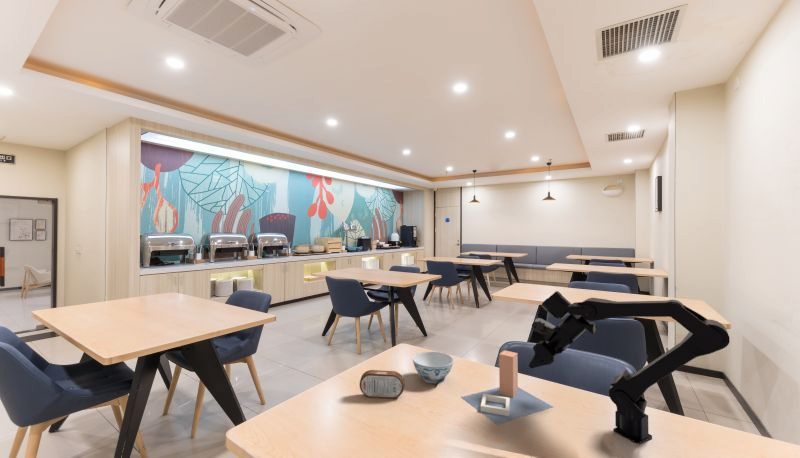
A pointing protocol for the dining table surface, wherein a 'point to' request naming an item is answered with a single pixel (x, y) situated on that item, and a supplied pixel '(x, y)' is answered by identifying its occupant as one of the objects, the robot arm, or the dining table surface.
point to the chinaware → (432, 365)
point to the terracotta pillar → (508, 373)
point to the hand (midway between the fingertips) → (534, 362)
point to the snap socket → (492, 408)
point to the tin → (382, 384)
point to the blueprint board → (518, 407)
